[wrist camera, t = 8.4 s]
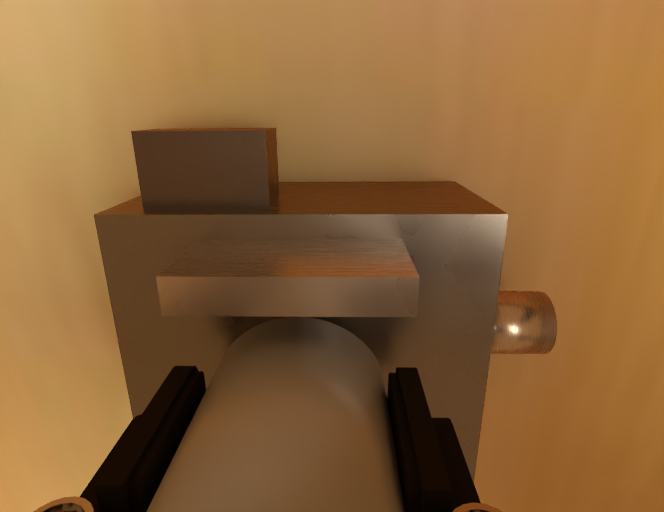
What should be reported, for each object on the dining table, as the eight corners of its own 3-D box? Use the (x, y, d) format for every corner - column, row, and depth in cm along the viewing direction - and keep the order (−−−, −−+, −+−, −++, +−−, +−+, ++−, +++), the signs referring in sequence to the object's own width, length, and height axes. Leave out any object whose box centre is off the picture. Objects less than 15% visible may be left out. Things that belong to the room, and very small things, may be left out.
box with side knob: (535, 123, 17) (732, 134, 8) (498, 384, 21) (607, 572, 12) (165, 126, 17) (-9, 139, 9) (198, 381, 21) (101, 562, 13)
